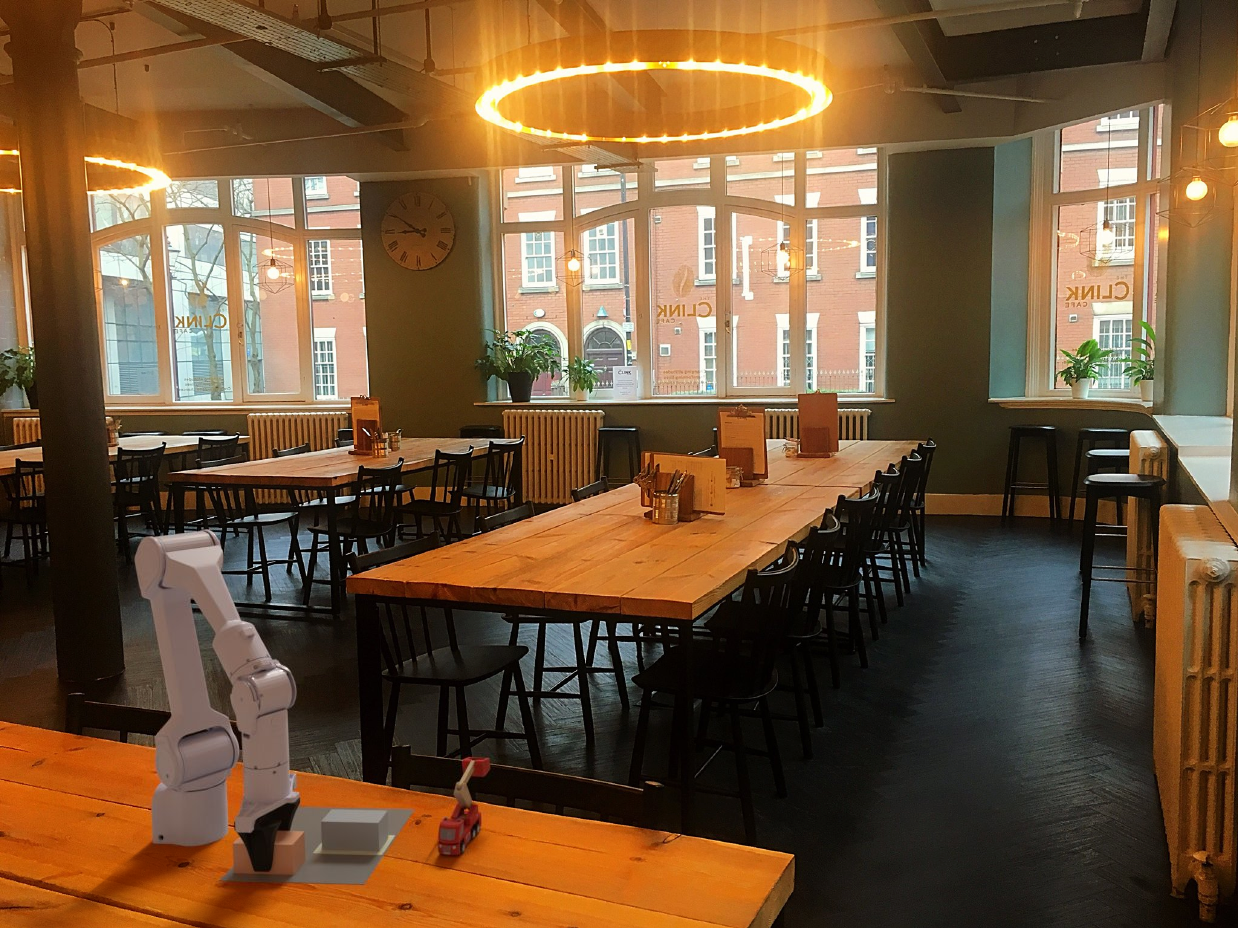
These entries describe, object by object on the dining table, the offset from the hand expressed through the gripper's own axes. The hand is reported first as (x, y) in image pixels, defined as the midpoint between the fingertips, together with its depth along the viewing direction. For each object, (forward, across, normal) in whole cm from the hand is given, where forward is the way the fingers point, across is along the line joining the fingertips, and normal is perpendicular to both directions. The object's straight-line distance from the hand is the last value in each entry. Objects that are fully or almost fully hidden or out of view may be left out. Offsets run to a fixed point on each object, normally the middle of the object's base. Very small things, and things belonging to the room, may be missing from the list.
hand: (269, 862), depth 132 cm
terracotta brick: (+1, 0, 0) cm, 1 cm away
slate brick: (+1, +7, -9) cm, 11 cm away
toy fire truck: (+2, +13, -23) cm, 27 cm away
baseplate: (+2, +8, -4) cm, 9 cm away
